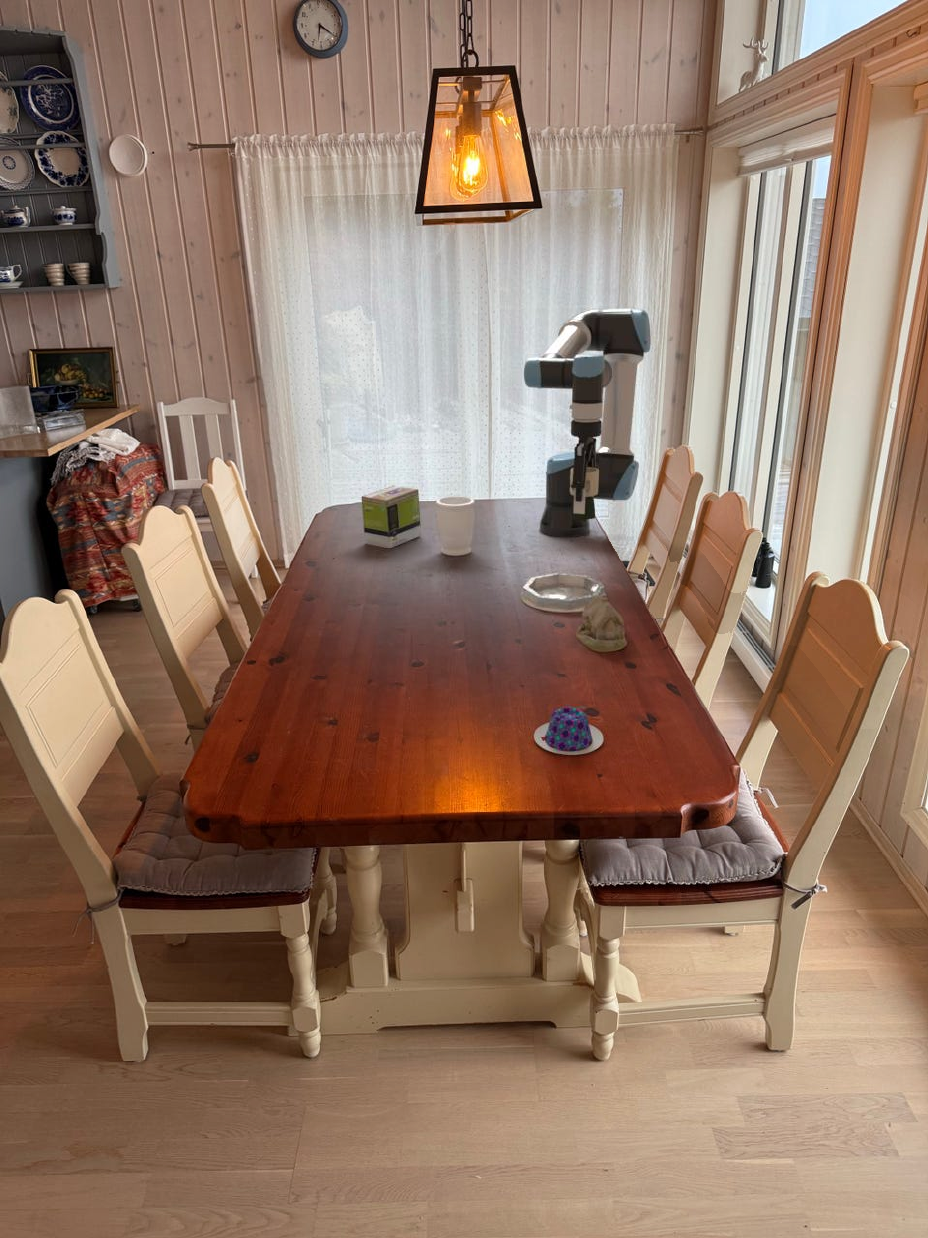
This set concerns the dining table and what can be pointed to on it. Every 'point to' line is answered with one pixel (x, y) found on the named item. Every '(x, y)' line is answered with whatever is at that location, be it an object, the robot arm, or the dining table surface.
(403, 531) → the tea box
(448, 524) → the jar
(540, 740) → the pudding
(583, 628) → the ceramic model
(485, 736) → the dining table surface
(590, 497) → the character mug
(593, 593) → the octagonal bowl
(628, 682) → the dining table surface
